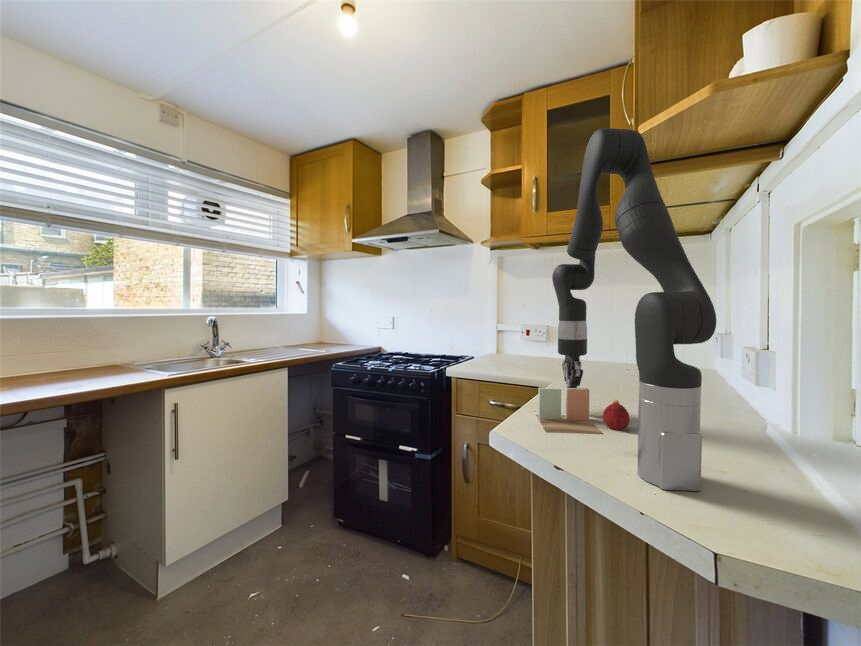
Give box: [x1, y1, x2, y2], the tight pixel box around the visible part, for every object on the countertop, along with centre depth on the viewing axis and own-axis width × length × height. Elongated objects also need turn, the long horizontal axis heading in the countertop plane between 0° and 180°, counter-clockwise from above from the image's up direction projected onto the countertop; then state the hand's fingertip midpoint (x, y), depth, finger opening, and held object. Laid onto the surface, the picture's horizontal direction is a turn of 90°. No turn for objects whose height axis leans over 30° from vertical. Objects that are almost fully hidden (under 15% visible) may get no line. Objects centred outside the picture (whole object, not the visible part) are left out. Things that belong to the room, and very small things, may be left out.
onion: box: [602, 399, 631, 431], centre depth 89 cm, size 6×6×8 cm
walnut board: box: [535, 414, 604, 435], centre depth 93 cm, size 14×13×1 cm
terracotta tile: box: [565, 387, 590, 420], centre depth 96 cm, size 2×6×8 cm, turn 83°
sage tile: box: [537, 387, 562, 420], centre depth 97 cm, size 2×6×8 cm, turn 83°
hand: (571, 399), depth 102 cm, fingers closed
